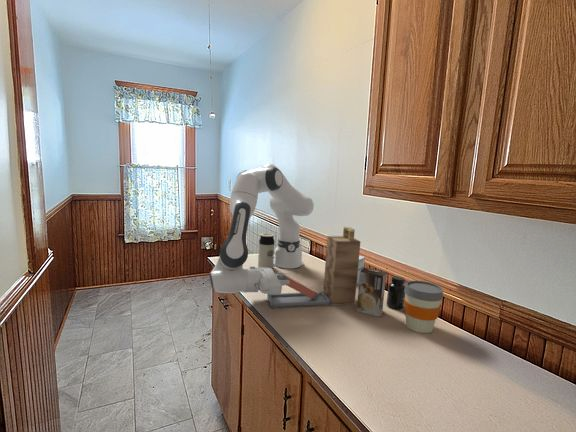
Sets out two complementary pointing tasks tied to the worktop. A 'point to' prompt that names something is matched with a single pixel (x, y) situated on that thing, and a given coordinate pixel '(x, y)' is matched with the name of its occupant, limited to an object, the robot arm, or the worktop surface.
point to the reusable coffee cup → (422, 305)
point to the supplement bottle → (396, 293)
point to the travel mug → (266, 250)
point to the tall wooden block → (341, 267)
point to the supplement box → (360, 266)
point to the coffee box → (371, 291)
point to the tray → (296, 300)
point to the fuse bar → (300, 287)
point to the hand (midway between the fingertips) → (287, 279)
